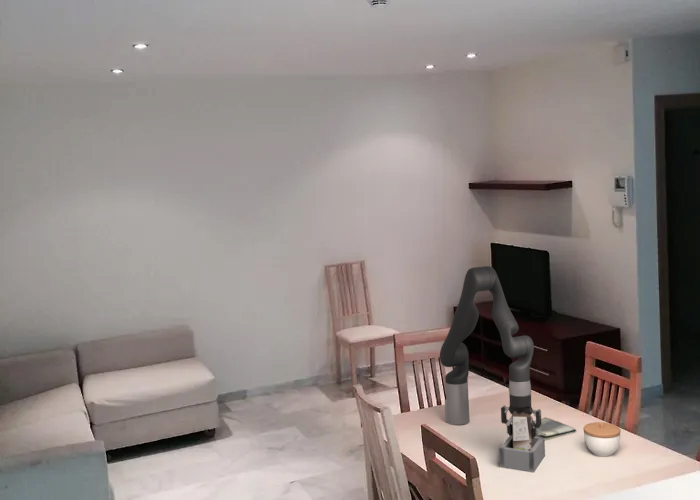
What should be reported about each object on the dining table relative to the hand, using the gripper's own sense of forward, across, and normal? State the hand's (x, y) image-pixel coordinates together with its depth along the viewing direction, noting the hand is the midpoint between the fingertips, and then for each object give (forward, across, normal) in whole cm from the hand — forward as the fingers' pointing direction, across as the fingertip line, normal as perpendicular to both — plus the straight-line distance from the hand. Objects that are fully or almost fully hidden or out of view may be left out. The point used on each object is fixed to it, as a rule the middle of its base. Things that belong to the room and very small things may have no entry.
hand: (521, 436), depth 252 cm
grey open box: (+9, 0, 0) cm, 9 cm away
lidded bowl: (+10, -24, -18) cm, 32 cm away
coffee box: (+7, 0, 0) cm, 7 cm away
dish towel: (+10, +1, -32) cm, 33 cm away
